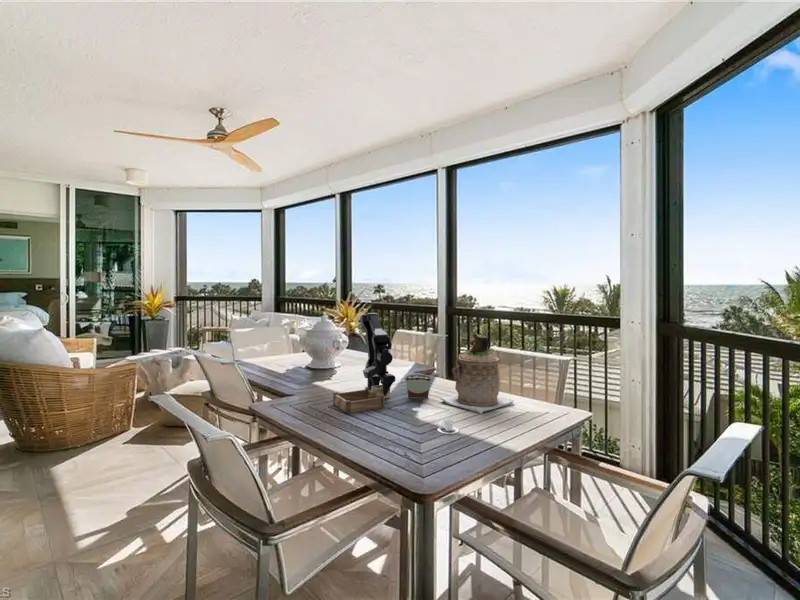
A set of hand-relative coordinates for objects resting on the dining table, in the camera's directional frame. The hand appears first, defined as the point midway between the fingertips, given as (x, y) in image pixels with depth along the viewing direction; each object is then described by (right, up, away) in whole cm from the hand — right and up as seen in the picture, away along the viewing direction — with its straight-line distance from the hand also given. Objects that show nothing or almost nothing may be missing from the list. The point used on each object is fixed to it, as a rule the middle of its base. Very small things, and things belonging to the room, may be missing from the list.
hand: (380, 393), depth 209 cm
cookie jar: (+44, -3, -10) cm, 45 cm away
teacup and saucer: (+29, -5, -42) cm, 51 cm away
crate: (-9, -2, -14) cm, 17 cm away
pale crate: (0, -2, 0) cm, 2 cm away
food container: (+18, -2, +1) cm, 18 cm away
